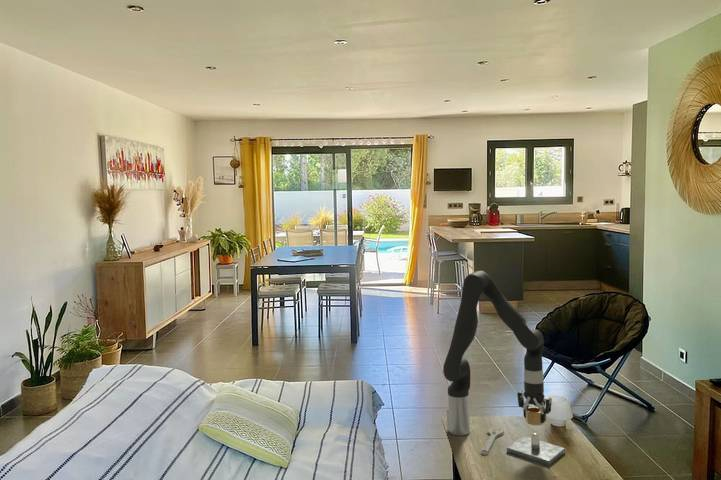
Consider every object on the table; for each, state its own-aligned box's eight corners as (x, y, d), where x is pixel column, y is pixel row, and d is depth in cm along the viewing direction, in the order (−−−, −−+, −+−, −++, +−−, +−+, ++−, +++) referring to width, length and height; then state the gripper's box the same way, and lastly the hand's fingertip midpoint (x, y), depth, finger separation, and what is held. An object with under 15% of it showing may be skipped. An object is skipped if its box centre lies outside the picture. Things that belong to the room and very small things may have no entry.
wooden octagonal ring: (523, 422, 214) (523, 410, 214) (531, 417, 219) (530, 405, 219) (538, 426, 210) (538, 414, 210) (545, 421, 214) (545, 409, 214)
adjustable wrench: (487, 457, 215) (487, 452, 214) (471, 453, 218) (471, 449, 218) (505, 432, 236) (505, 428, 236) (491, 429, 239) (491, 426, 239)
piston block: (506, 452, 217) (506, 433, 216) (523, 440, 227) (523, 422, 226) (548, 466, 204) (548, 445, 203) (564, 452, 214) (564, 433, 213)
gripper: (512, 378, 216) (513, 418, 217) (546, 386, 205) (547, 428, 207) (521, 374, 221) (523, 413, 222) (555, 381, 211) (556, 421, 212)
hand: (534, 420), depth 214 cm, fingers closed on wooden octagonal ring, 6 cm apart
